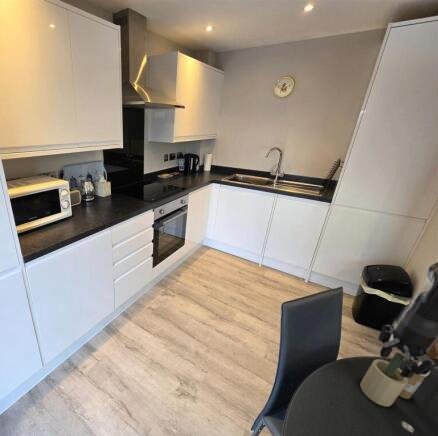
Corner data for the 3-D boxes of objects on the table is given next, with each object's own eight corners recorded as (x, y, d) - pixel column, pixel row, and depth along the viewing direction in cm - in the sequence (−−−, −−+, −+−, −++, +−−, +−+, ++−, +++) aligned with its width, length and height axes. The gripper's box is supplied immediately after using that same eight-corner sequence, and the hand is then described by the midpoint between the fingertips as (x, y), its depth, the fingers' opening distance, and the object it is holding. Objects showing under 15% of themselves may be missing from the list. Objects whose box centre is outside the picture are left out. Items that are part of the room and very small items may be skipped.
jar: (386, 388, 84) (401, 366, 79) (396, 411, 77) (412, 389, 73) (357, 376, 87) (370, 355, 83) (363, 398, 80) (377, 375, 76)
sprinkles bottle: (388, 387, 84) (407, 360, 79) (398, 384, 85) (416, 357, 80) (404, 401, 80) (424, 373, 75) (413, 398, 81) (434, 370, 76)
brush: (381, 389, 82) (406, 353, 76) (385, 400, 79) (411, 363, 72) (367, 383, 84) (389, 347, 77) (370, 394, 81) (394, 357, 74)
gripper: (462, 347, 64) (429, 389, 70) (406, 308, 77) (383, 346, 84) (435, 347, 63) (405, 389, 70) (384, 307, 77) (362, 346, 83)
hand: (393, 365), depth 77 cm, fingers open, 6 cm apart
